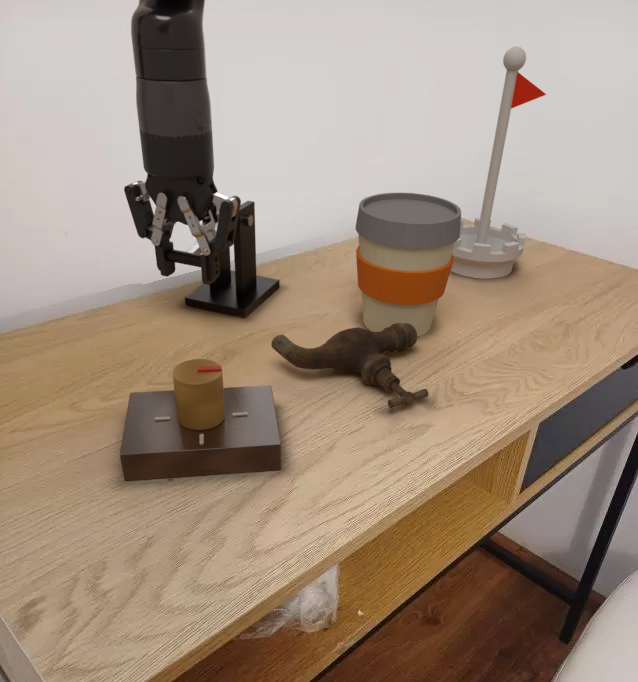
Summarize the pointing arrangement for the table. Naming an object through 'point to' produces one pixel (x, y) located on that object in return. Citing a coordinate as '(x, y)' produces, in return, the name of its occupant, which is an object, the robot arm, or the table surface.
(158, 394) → the panel
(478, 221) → the flag stand
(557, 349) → the table surface
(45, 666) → the table surface
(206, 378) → the tap knob
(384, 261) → the reusable coffee cup
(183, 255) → the lever with black grip
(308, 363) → the faucet
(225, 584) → the table surface
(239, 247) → the black upright frame
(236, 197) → the robot arm
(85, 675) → the table surface
